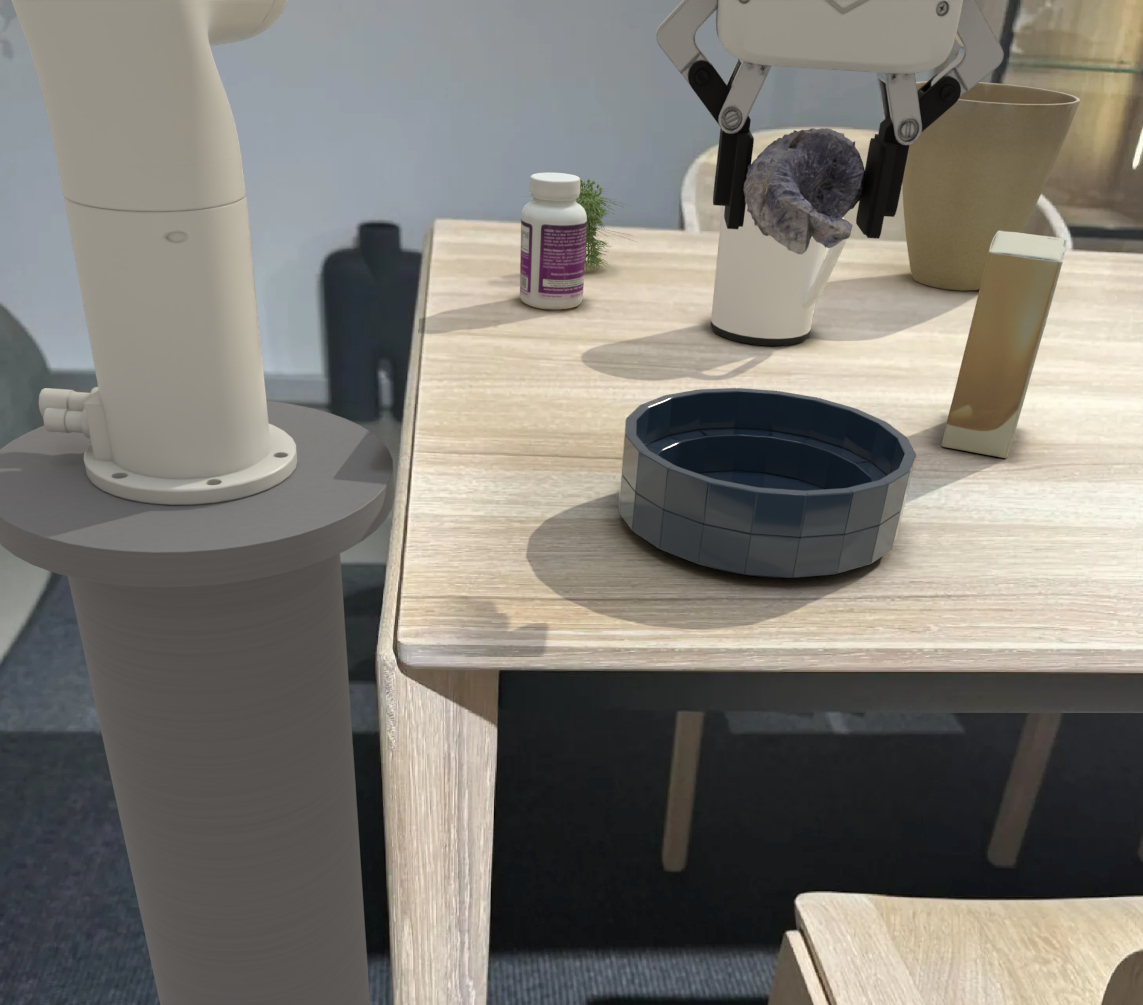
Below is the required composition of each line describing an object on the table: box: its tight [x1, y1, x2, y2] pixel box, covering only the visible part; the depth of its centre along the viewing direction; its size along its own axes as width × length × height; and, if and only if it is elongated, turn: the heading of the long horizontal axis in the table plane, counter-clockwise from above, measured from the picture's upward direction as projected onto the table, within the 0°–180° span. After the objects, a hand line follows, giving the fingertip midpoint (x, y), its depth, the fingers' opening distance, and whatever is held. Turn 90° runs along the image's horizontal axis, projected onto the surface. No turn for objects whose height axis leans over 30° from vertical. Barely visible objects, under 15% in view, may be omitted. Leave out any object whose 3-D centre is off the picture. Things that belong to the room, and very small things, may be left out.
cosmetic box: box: [941, 231, 1068, 459], centre depth 75 cm, size 6×4×12 cm
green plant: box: [518, 178, 646, 272], centre depth 107 cm, size 12×12×8 cm
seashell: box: [743, 127, 865, 254], centre depth 56 cm, size 5×5×10 cm
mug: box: [710, 204, 848, 347], centre depth 93 cm, size 11×9×10 cm
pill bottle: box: [519, 172, 587, 310], centre depth 97 cm, size 5×5×10 cm
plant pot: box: [901, 80, 1081, 291], centre depth 109 cm, size 15×15×16 cm
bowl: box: [618, 387, 917, 579], centre depth 64 cm, size 15×15×5 cm
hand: (800, 223), depth 57 cm, fingers closed on seashell, 5 cm apart
